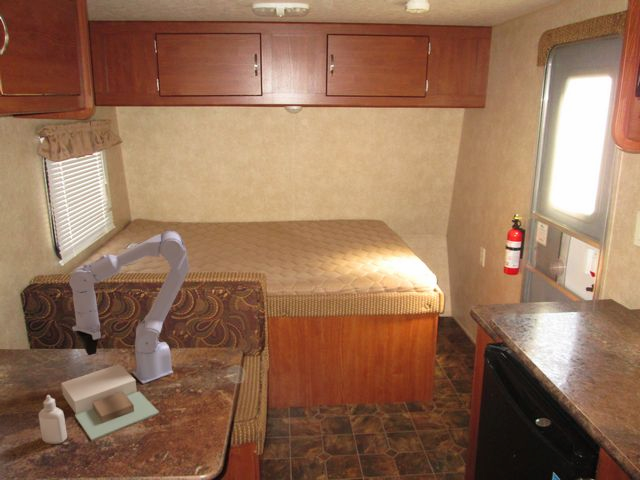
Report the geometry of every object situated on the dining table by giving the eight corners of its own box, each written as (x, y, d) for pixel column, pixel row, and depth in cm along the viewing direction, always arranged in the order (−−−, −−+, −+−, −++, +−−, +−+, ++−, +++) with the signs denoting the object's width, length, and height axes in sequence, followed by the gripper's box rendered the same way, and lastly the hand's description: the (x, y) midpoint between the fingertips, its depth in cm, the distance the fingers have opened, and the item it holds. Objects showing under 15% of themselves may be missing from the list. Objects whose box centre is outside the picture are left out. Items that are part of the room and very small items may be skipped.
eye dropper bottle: (50, 449, 119) (43, 404, 116) (40, 439, 122) (33, 395, 119) (69, 440, 122) (62, 396, 119) (59, 430, 125) (52, 387, 122)
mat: (139, 392, 142) (139, 391, 142) (159, 413, 132) (159, 411, 132) (75, 416, 131) (74, 415, 131) (91, 441, 122) (91, 439, 121)
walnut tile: (123, 398, 138) (123, 391, 138) (134, 411, 132) (133, 404, 132) (93, 408, 134) (92, 402, 133) (102, 423, 128) (101, 416, 127)
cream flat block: (120, 375, 151) (119, 363, 149) (136, 392, 142) (135, 380, 141) (63, 395, 140) (61, 382, 139) (76, 415, 132) (74, 401, 131)
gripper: (63, 305, 143) (69, 348, 147) (79, 321, 133) (85, 367, 136) (88, 299, 148) (94, 341, 151) (106, 314, 137) (111, 359, 141)
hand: (91, 353), depth 144 cm, fingers closed
